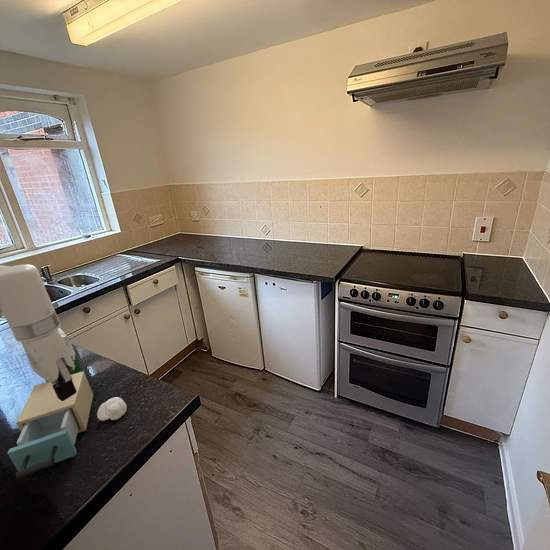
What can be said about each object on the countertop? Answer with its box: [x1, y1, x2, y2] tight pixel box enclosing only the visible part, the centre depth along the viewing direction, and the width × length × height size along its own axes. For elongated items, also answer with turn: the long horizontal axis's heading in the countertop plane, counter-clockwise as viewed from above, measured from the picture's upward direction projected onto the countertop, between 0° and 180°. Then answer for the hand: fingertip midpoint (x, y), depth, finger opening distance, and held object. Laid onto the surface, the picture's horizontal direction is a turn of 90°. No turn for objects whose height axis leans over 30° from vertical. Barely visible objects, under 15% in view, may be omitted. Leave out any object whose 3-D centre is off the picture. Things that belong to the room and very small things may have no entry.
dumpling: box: [96, 396, 128, 422], centre depth 78 cm, size 7×5×4 cm
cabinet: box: [15, 370, 94, 434], centre depth 77 cm, size 14×12×9 cm
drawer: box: [7, 408, 79, 480], centre depth 67 cm, size 18×10×7 cm, turn 23°
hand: (68, 395), depth 67 cm, fingers closed
